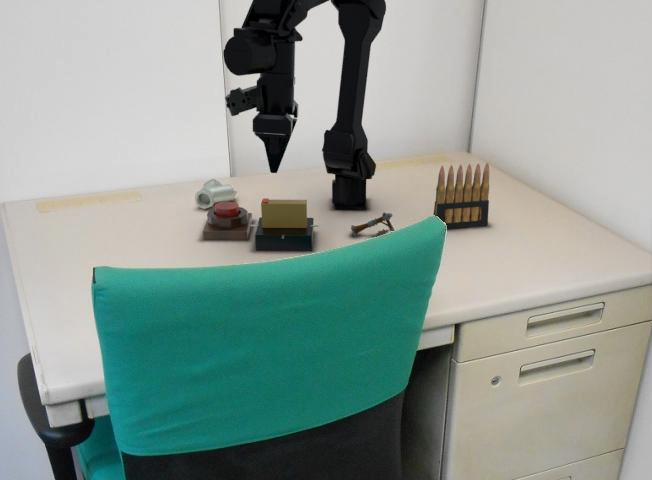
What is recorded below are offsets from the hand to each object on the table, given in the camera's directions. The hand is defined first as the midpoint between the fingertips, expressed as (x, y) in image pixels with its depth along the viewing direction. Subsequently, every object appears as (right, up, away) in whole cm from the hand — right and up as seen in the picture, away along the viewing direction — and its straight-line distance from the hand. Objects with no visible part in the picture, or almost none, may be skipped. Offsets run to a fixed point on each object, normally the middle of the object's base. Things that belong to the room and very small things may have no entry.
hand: (276, 166), depth 146 cm
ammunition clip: (+34, -7, +15) cm, 38 cm away
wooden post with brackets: (+17, -10, +10) cm, 22 cm away
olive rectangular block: (+1, -9, +5) cm, 11 cm away
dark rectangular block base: (+1, -12, +7) cm, 14 cm away
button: (-10, -6, +10) cm, 15 cm away
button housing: (-10, -9, +11) cm, 18 cm away
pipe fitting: (-14, -1, +24) cm, 28 cm away
